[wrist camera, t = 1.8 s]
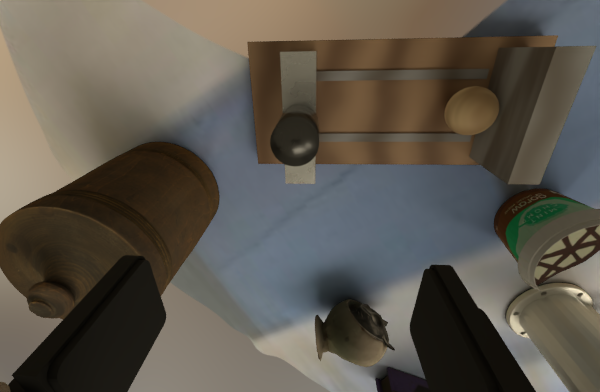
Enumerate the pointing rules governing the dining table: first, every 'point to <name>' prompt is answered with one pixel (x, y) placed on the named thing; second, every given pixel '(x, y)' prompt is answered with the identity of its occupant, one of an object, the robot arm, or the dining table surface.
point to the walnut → (471, 110)
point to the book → (401, 382)
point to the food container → (547, 233)
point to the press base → (427, 100)
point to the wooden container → (108, 225)
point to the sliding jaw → (297, 117)
